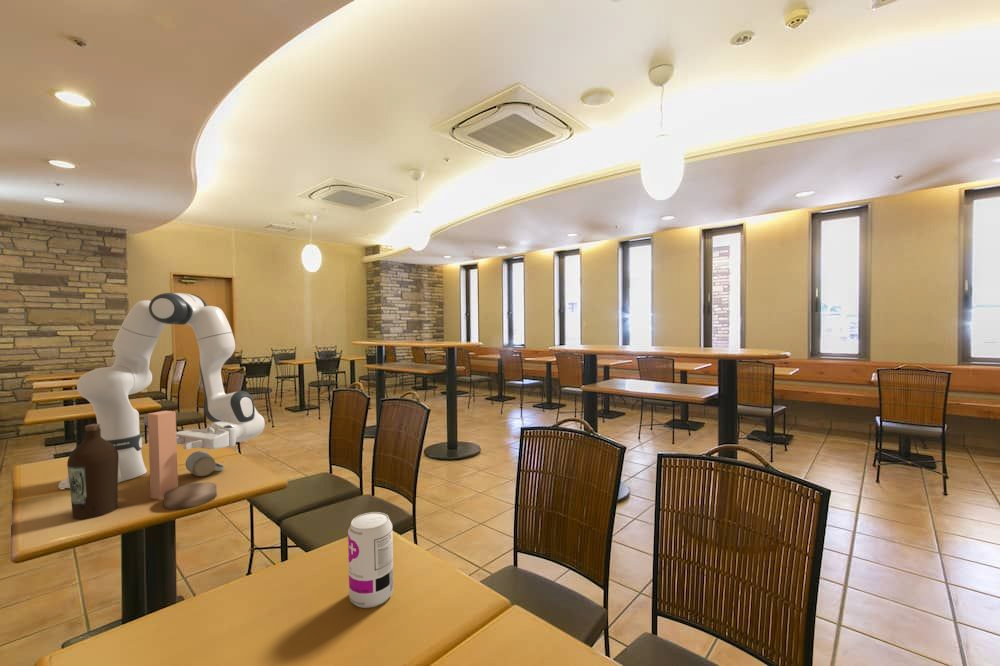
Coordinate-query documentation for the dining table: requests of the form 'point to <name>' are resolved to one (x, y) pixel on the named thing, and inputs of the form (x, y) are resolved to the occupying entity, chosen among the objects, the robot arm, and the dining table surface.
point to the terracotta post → (162, 453)
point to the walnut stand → (190, 495)
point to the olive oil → (93, 475)
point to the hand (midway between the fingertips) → (175, 445)
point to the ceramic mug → (202, 464)
